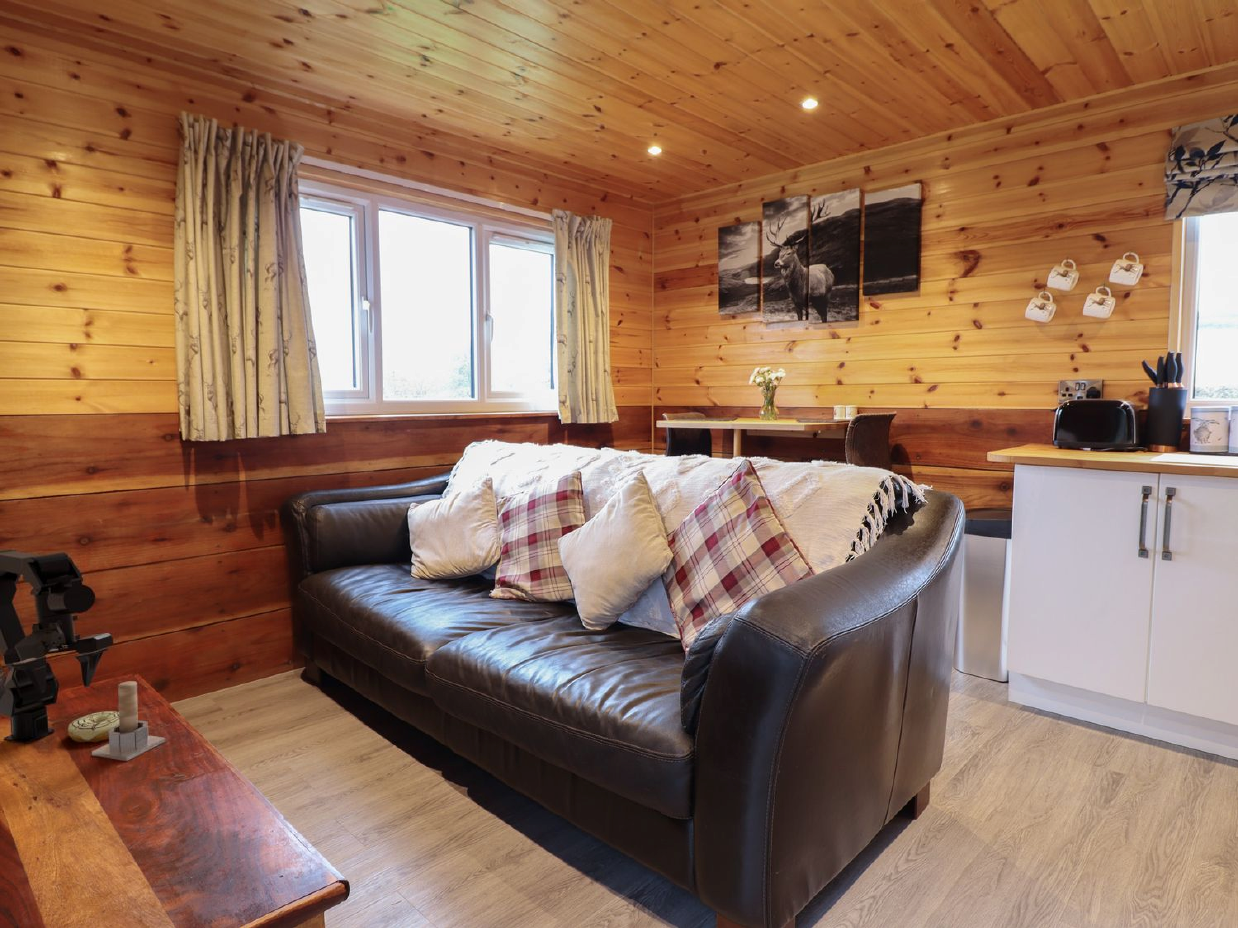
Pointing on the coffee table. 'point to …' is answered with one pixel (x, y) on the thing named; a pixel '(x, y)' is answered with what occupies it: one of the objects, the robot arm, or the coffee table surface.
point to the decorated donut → (93, 726)
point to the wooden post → (128, 706)
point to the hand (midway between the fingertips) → (64, 689)
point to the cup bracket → (128, 743)
